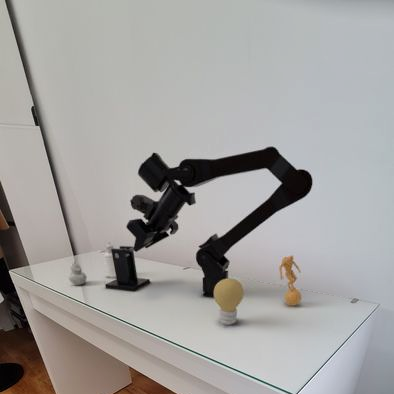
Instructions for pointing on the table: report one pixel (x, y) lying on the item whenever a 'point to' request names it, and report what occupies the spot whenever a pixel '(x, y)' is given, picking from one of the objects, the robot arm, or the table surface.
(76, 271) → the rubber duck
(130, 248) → the lever
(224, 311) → the light bulb
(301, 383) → the table surface
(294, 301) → the figurine
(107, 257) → the eye dropper bottle
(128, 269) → the bracket
